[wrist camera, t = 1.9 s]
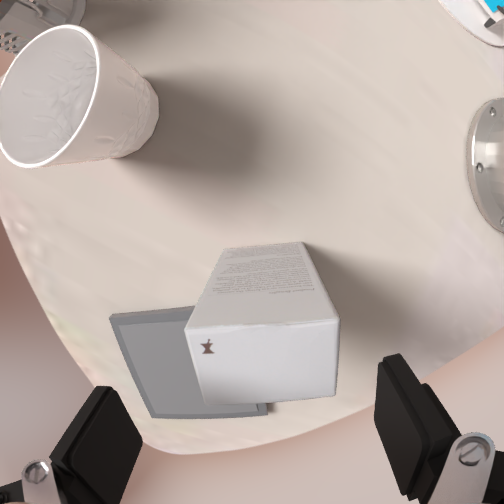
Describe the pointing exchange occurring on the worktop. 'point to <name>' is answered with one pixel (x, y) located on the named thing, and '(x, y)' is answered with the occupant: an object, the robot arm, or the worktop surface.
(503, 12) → the panda figurine
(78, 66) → the white cup
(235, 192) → the worktop surface
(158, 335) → the tray
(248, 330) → the skincare box
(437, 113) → the worktop surface
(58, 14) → the french press
